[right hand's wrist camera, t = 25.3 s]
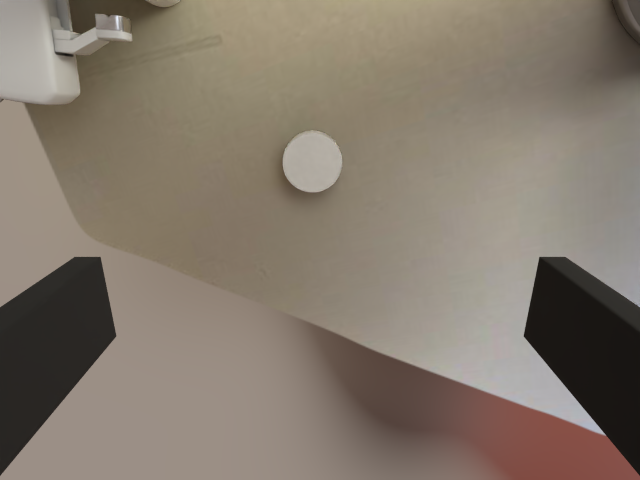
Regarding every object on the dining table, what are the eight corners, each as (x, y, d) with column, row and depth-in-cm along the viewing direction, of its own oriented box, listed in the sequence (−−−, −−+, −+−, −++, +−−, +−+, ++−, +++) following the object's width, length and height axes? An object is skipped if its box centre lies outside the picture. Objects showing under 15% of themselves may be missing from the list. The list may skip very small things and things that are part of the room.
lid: (338, 189, 39) (339, 195, 37) (282, 185, 39) (280, 191, 37) (344, 131, 37) (345, 134, 35) (285, 127, 37) (283, 129, 35)
